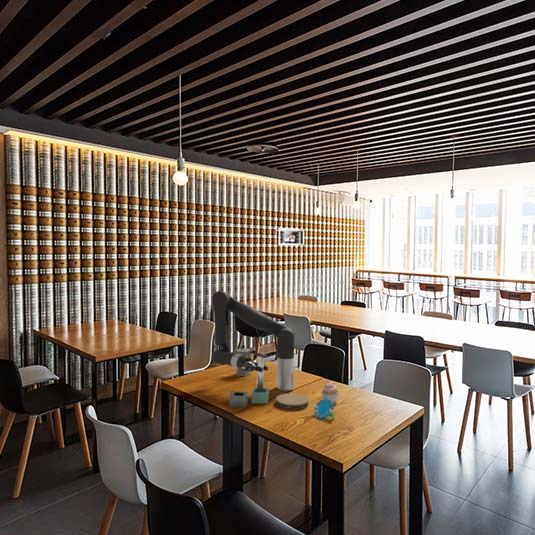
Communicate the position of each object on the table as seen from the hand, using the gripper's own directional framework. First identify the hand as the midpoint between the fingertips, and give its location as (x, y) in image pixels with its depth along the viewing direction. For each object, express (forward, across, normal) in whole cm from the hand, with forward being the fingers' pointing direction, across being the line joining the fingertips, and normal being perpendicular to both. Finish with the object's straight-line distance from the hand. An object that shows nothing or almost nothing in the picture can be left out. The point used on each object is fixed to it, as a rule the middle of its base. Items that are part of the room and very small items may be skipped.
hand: (264, 369), depth 205 cm
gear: (+32, +7, +16) cm, 37 cm away
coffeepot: (-40, +25, +17) cm, 50 cm away
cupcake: (+22, +25, +16) cm, 37 cm away
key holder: (-3, 0, +16) cm, 17 cm away
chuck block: (-6, -11, +16) cm, 21 cm away
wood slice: (+12, +8, +17) cm, 22 cm away
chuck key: (-3, 0, +11) cm, 11 cm away
